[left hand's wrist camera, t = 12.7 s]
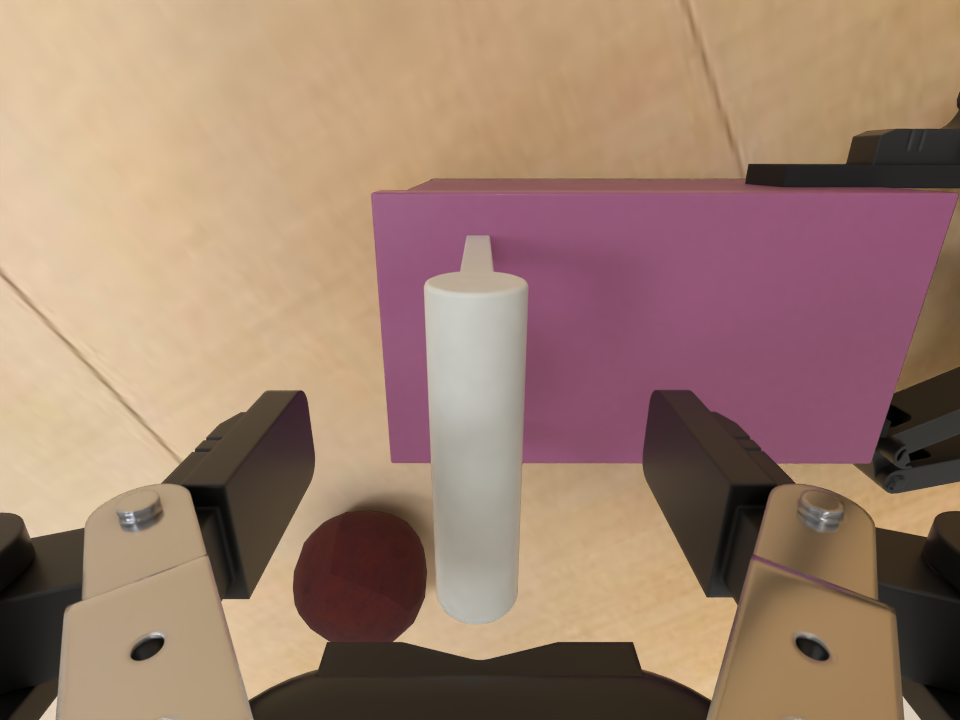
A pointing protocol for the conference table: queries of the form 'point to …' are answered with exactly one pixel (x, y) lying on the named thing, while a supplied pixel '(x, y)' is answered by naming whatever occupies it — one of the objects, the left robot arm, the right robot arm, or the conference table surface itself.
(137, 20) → the conference table surface
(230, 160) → the conference table surface
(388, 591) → the potato
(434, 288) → the lid
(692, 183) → the chest
